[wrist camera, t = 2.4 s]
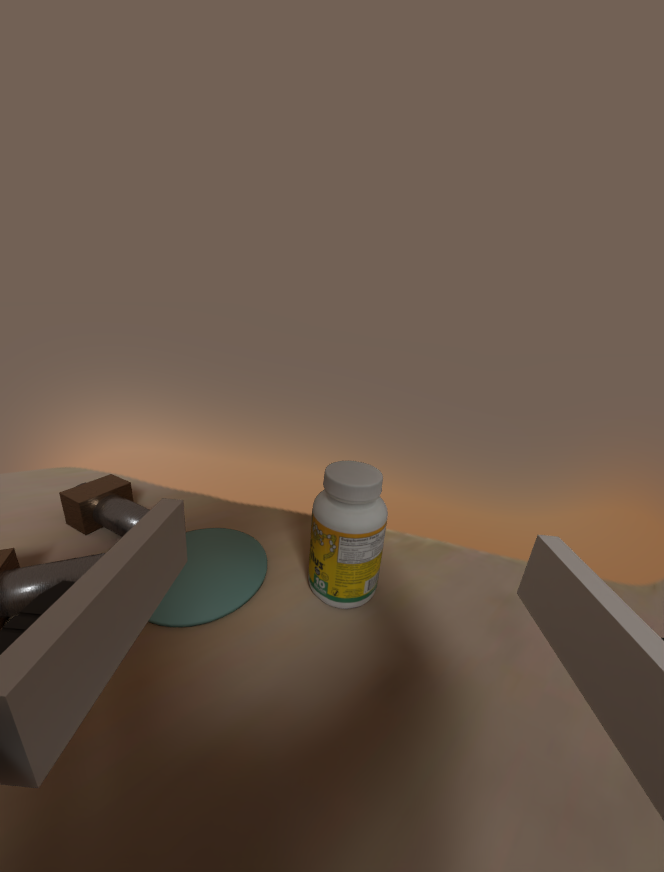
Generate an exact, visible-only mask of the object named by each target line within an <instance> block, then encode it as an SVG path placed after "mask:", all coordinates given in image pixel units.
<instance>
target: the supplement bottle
mask: <svg viewBox="0 0 664 872" xmlns="http://www.w3.org/2000/svg"><path fill="white" fill-rule="evenodd" d="M382 481H383V476H382V473H381V472H380V471H379V470H378V469H377V468H375V467H373V466H371V465H369V464H366V463H362V462H356V461H339V462H334V463H331V464H330V465H328V466H327V467H326V469H325V474H324V482H323V485H324V488H325V489H324V490H323V491H322V492H320V493H319V494H318V495H317V497H316V498H315V501H314V504H313V510H312V525H311V540H310V557H309V574H308V579H309V585H310V588H311V590H312V592H313V593H314V594H315V595H316V596H317V597H318V598H319V599H320V600H322V601H323V602H324V603H326V604H328V605H330V606H333V607H336V608H342V609H349V608H355V607H359V606H361V605H363V604H365V603H366V602H368V601H369V600H370V599H371V598H372V596H373V595H374V593H375V591H376V587H377V582H378V576H379V570H380V563H381V556H382V549H383V543H384V536H385V530H386V524H387V515H388V512H387V507H386V505H385V503H384V501H383V500H382V499H381V498H380V494H381V492H382Z"/></svg>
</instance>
